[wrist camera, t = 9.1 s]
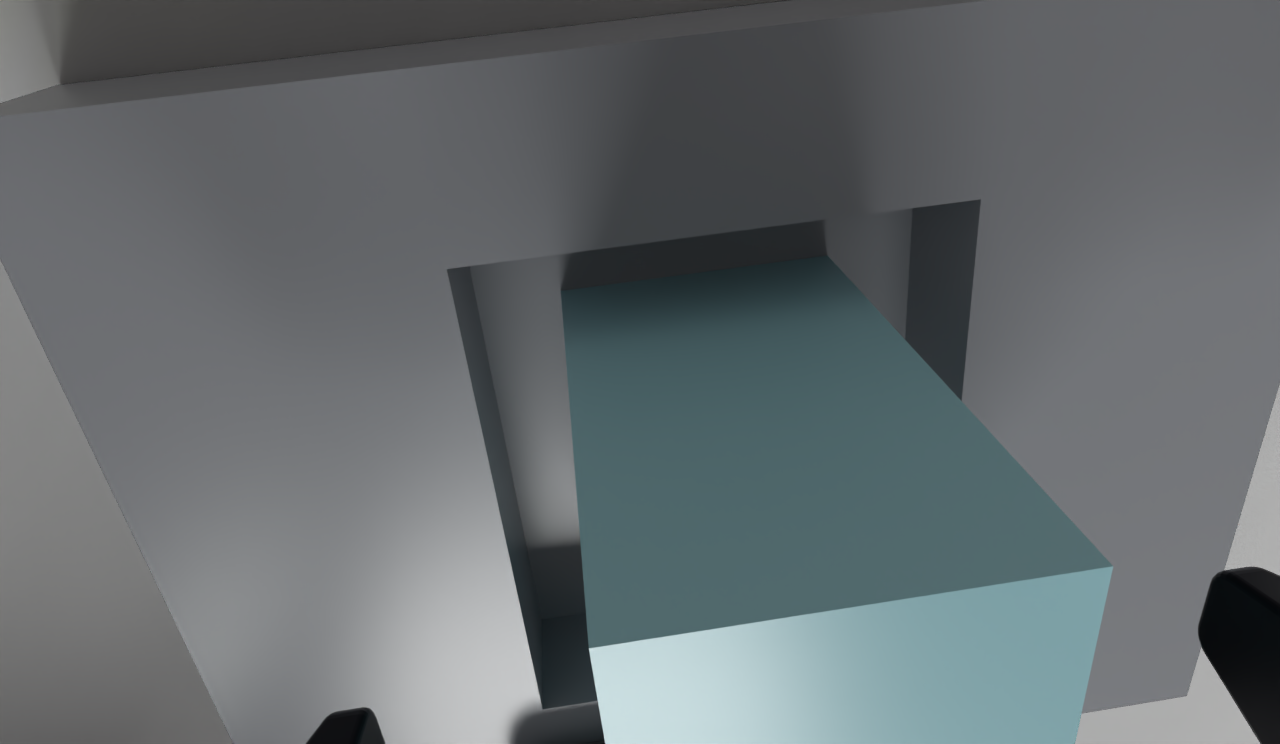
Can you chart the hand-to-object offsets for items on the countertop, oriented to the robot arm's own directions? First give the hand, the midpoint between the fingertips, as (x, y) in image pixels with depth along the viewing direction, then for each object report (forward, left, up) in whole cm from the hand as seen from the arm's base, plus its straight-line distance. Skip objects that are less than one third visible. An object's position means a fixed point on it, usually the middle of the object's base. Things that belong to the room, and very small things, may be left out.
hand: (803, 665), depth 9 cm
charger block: (0, 0, -5) cm, 5 cm away
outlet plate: (0, 0, -6) cm, 6 cm away
